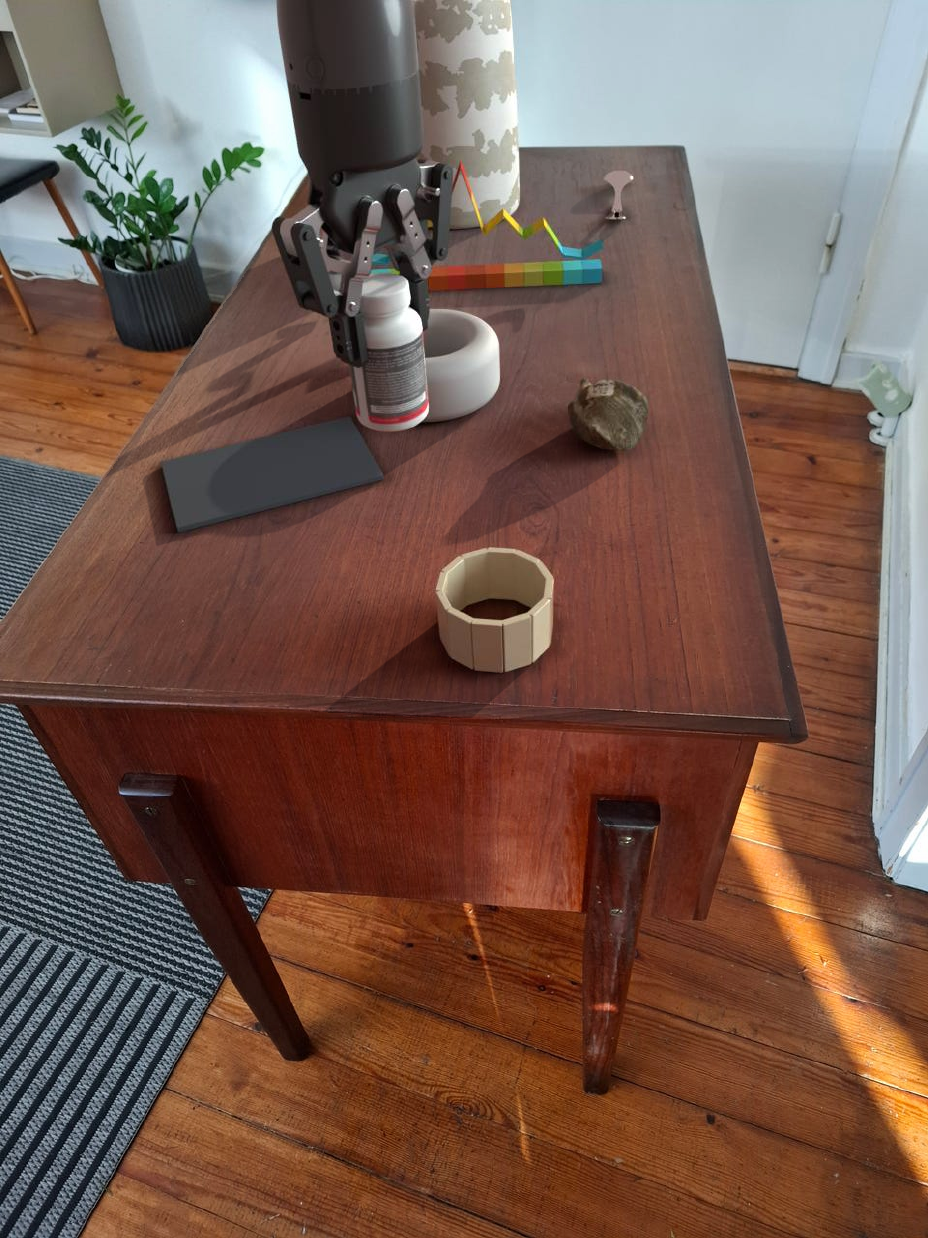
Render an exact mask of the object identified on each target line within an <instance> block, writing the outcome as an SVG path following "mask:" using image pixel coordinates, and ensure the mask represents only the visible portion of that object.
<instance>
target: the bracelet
mask: <svg viewBox="0 0 928 1238" xmlns="http://www.w3.org/2000/svg"><path fill="white" fill-rule="evenodd" d="M554 586H555V579H554V577H553V575H552V573H551V572H550V571H549V569H548V567H546V565H545V564H544V562H543V561H542V560H540V559H539V558H537V557H535V556H532V555H530V554H528V553H526V552H524V551H522V550H520V549H516V548H508V547H507V548H505V547H488V548H487V547H483V548H479V549H476V550H473V551H470V552H466V553H463V554H460V555H458V556H456V558H454V559H453V560H452V561H450V562H449V563H448V564H447V565H446V566H444V567H443V568H442V569H441V570H440V571H439V574H438V579H437V582H436V585H435V590H434V591H435V592H434V594H435V603H436V604H435V605H436V613H437V614H436V615H437V623H438V624H437V625H438V632H439V640H440V641H441V643H442V645H443V647H444V649H445V651H446V652H447V655H448V656H449V657H450V658H451V659H452V660H453V661H456V662H457V663H459V664H461V665H463V666H465V667H467V668H469V669H470V670H474V671H476V672H488V673H489V672H490V673H499V674H500V673H501V674H502V673H508V672H511V671H514V670H518V669H520V668H523V667H526V666H530V665H531V664H532V663H535V662H536V661H537V660H538V659H539V658H540V657H541V656H542V655H543V654H544V653H545V652H547V650H548V649H549V648H550V646H551V644H552V636H553V627H554V595H555V594H554V593H555V592H554V591H555V590H554V588H555V587H554ZM489 599H495V600H510V601H511V600H512V601H516V602H517V603H520V604H522V605H524V606H526V607H529V608H530V610H528V611H527V612H525V613H521V614H518V615H515V616H511V617H509V618H505V619H488V618H487V619H486V618H476V617H475V618H473V617H472V616H469V615H468V614H466V613H464V612H462V610H464V609H465V608H466V607H467V606H469V605H472V604H476V603H479V602H483V601H485V600H489Z"/></svg>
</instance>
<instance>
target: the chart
mask: <svg viewBox="0 0 928 1238" xmlns="http://www.w3.org/2000/svg"><path fill="white" fill-rule="evenodd" d="M460 170H461V172H462V175H463V178H464V181H465V184H466V187H467V190H468V193H469V195H470V198H471V200H472V204H473V207H474V210H475V213H476V216H477V219H478V222H479V225H480V228H479V229H480V230H481V233H482V236H483V238H484V237H486V236H487V235H488V234H489V233H490V232H491V231H492V230H493V229H495V228H496V226H497V225H499V224H500V222H502V221H503V220H504V221H505V222H506V223H507V224H508V225H509V226H510V227H511V229H512V230H514V232H516V234H517V235H519V237H520V238H521V239H522V240H523V241H526V240H527V239H529V238H530V237H532V236H533V235H535V234H536V233H538V232H540V231H541V230H542V229H544V231H546V233H547V234H548V236H549V238H550V239H551V241H552V242H553V244H554V245H555V247H556V249H557V250H558V252H559V253H560V255H561V256H562V257H563V259H572V260H557V261H556V260H555V261H538V262H537V261H534V262H516V263H515V262H514V263H493V264H492V263H491V264H472V265H471V264H470V265H450V266H431V267H432V269H431V274H430V276H429V277H428V278H427V284H428V292H430V291H431V292H432V291H454V290H473V289H477V290H478V289H496V288H515V287H516V288H518V287H519V288H520V287H538V286H539V287H541V286H561V285H562V286H563V285H583V284H602V281H603V264H602V261H601V259H598V258H597V259H588V258H591V256H593V255H595V254H597V253H599V252H600V251H602V250H604V244H603V243H604V242H603V240H602V238H599V239H597V240H596V241H594V242H592V243H590V244H589V245H587V246H585V247H583V248H582V249H581V248H575V247H574V248H573V247H567V246H562V244H561V243H560V241H559V239H558V238H557V236H556V234H555V233H554V232H553V230H552V229H551V226H550V225H549V224H548V222H547V221H546V218H544V217H543V216H542V217H540V218H539V219H538V220H536V221H535V222H533V223H531V224H530V225H528V226H527V227H526V228H523V227H521V225H520V224H519V223H518V222H517V221H516V220H515V219H514V218H513V217H512V215H509V214H508V213H507V212H506V211H505V210H504V208H503V209H502V210H501V211H500V212H499V213H497V214H496V215H495V216H494V217H493V218H492V219H491V220H490V221H489V222H488V223H487V224H486V225H484V226H483V223H482V220H481V217H480V214H479V211H478V209H477V206H476V203H475V200H474V197H473V194H472V191H471V188H470V185H469V182H468V179H467V176H466V173H465V170H464V167H463V164H462V161H460V164H459V167H458V170H457V173H456V176H455V179H454V182H453V185H452V194H453V191H454V188H455V185H456V182H457V179H458V176H459V173H460ZM503 211H504V219H503ZM431 226H433V223H432V222H431V221H430V220H428V229H429V228H432V227H431ZM390 262H391V259H390V257H389V255H388V254H382V253H376V254H375V255H373V260H372V265H378V266H385V267H389V265H390ZM376 273H392V274H400V272H398V271H396V270H395V268H380V269H379V268H377V269H375V268H374V269H371V273H370V274H376Z"/></svg>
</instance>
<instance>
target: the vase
mask: <svg viewBox="0 0 928 1238" xmlns="http://www.w3.org/2000/svg"><path fill="white" fill-rule="evenodd" d="M412 2H413V8H414V16H415V27H416V41H417V55H418V67H419V81H420V95H421V109H422V123H423V136H424V145H423V148H422V151H421V152H420V154H419V155H418V156H417V157H416V159H417V160H418V159H420V158H421V159H426V160H430V161H435V162H439V163H444V164H449V165H451V167H452V169H453V182H454V179H455V176H456V173H457V170H458V167H459V164H460V161H462V164H463V167H464V170H465V173H466V176H467V179H468V182H469V185H470V188H471V191H472V194H473V197H474V200H475V203H476V206H477V209H478V211H479V214H480V217H481V220H482V223H483V226H485V225H486V224H487V223H488V222H489V221H490V220H491V219H492V218H493V217H494V216H495V215H496V214H497V213H499V212H500V211H501V210H502V209H503V208H504V210H505V211H506V212H507V213H508V214H509V215H510V216H512V215H513V214H514V213H516V211H517V210H518V208H519V206H520V201H521V185H520V183H521V182H520V146H519V145H520V144H519V143H520V141H519V119H518V117H519V116H518V99H517V97H518V96H517V82H516V65H515V48H514V47H515V45H514V33H513V32H514V31H513V18H512V17H513V16H512V15H513V14H512V5H511V0H412ZM452 185H453V184H452ZM503 220H504V211H503ZM479 227H480V225H479V222H478V219H477V216H476V213H475V210H474V207H473V204H472V200H471V198H470V195H469V193H468V190H467V187H466V184H465V181H464V178H463V175H462V172H461V170H460V173H459V176H458V179H457V182H456V185H455V188H454V191H453V194H452V199H451V215H450V230H461V229H474V228H479ZM430 228H432V229H433V226H431V227H430Z"/></svg>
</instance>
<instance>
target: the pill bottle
mask: <svg viewBox="0 0 928 1238" xmlns="http://www.w3.org/2000/svg"><path fill="white" fill-rule="evenodd" d="M410 299H411V298H410V292H409V284H408V281H407V279H406V278H404V277H403V276H400V275H398V274H392V273H376V274H371V273H370V276H369V277H368V278H367V279H365V280H364V282H363V287H362V294H361V301H360V307H359V312H361V313H363V321H364V328H365V336H366V344H367V351H368V359H369V361H368V363H367V364H365V365H364V366H362V367H360V368H357V367H354V366H352V365H349V364H348V368H349V369H348V370H349V377H350V383H351V390H352V396H353V402H354V407H355V408H354V409H355V413H356V417H357V420H358V421H359V423H360V424H361V425H363V426H364V427H365V428H368V429H370V430H373V431H376V432H377V431H378V432H400V431H406V430H408V429H412V428H414V427H416V426H418V425H419V424H420V423H422V422H421V421H423V420H424V419H425V417H426V416H427V414H428V411H429V404H428V391H427V379H426V367H425V355H424V342H423V327H422V322H421V318H420V316H419V315H418V314H417V312H416V311H414V310H413V309H412V308H410V307H408V306H409V304H410Z"/></svg>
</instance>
